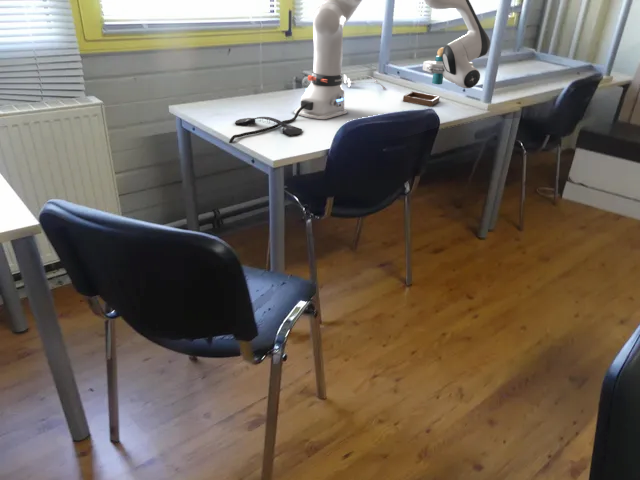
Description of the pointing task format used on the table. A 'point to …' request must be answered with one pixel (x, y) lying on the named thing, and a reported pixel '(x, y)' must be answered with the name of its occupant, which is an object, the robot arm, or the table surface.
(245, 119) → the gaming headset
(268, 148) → the table surface
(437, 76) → the toy figure
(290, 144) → the table surface
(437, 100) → the tray
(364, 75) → the eyeglasses
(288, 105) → the table surface
